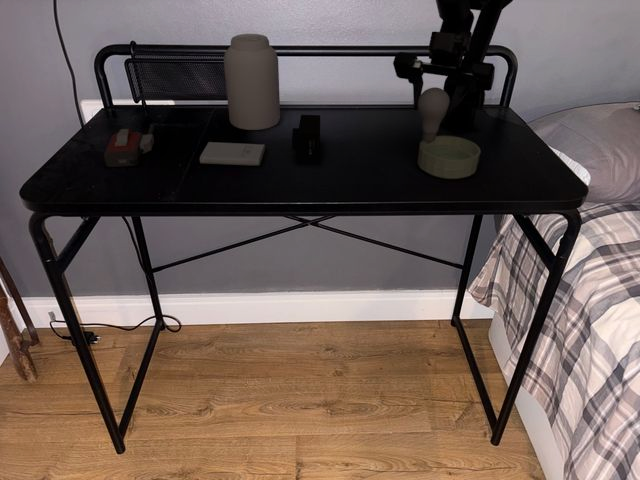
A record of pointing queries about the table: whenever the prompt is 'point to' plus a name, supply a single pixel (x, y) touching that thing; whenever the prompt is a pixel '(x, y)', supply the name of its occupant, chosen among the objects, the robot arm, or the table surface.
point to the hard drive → (232, 154)
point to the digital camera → (307, 139)
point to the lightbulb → (432, 111)
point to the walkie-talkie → (128, 147)
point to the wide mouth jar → (252, 82)
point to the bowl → (449, 157)
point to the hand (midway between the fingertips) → (431, 111)
